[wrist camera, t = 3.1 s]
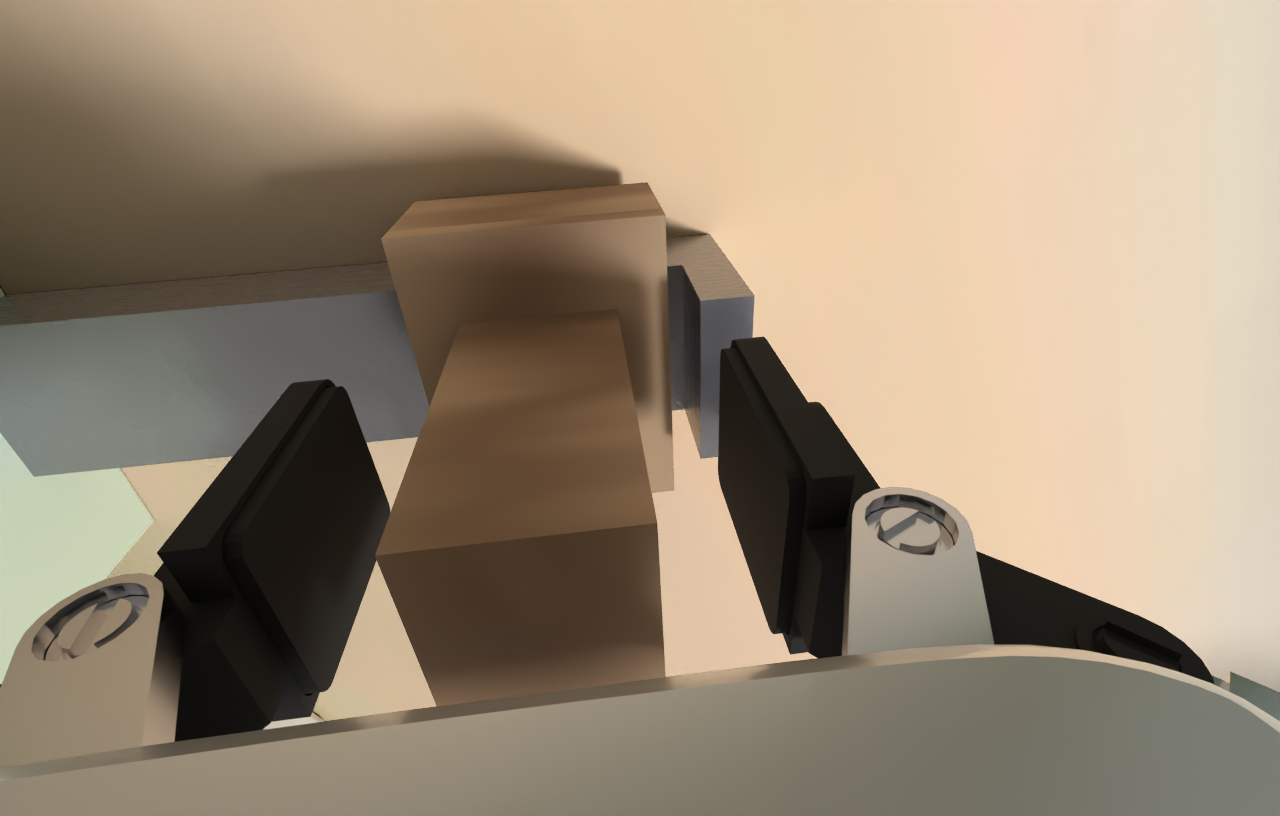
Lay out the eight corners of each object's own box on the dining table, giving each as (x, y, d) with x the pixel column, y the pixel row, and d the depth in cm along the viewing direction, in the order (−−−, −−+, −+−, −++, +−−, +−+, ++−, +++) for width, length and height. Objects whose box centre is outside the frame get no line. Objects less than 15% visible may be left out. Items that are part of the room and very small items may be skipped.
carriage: (647, 182, 13) (754, 377, 6) (658, 425, 16) (735, 745, 9) (415, 201, 13) (204, 432, 5) (475, 444, 16) (399, 791, 9)
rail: (710, 234, 14) (754, 295, 11) (709, 366, 16) (746, 453, 13) (4, 294, 13) (-186, 383, 10) (92, 427, 15) (-42, 539, 12)
